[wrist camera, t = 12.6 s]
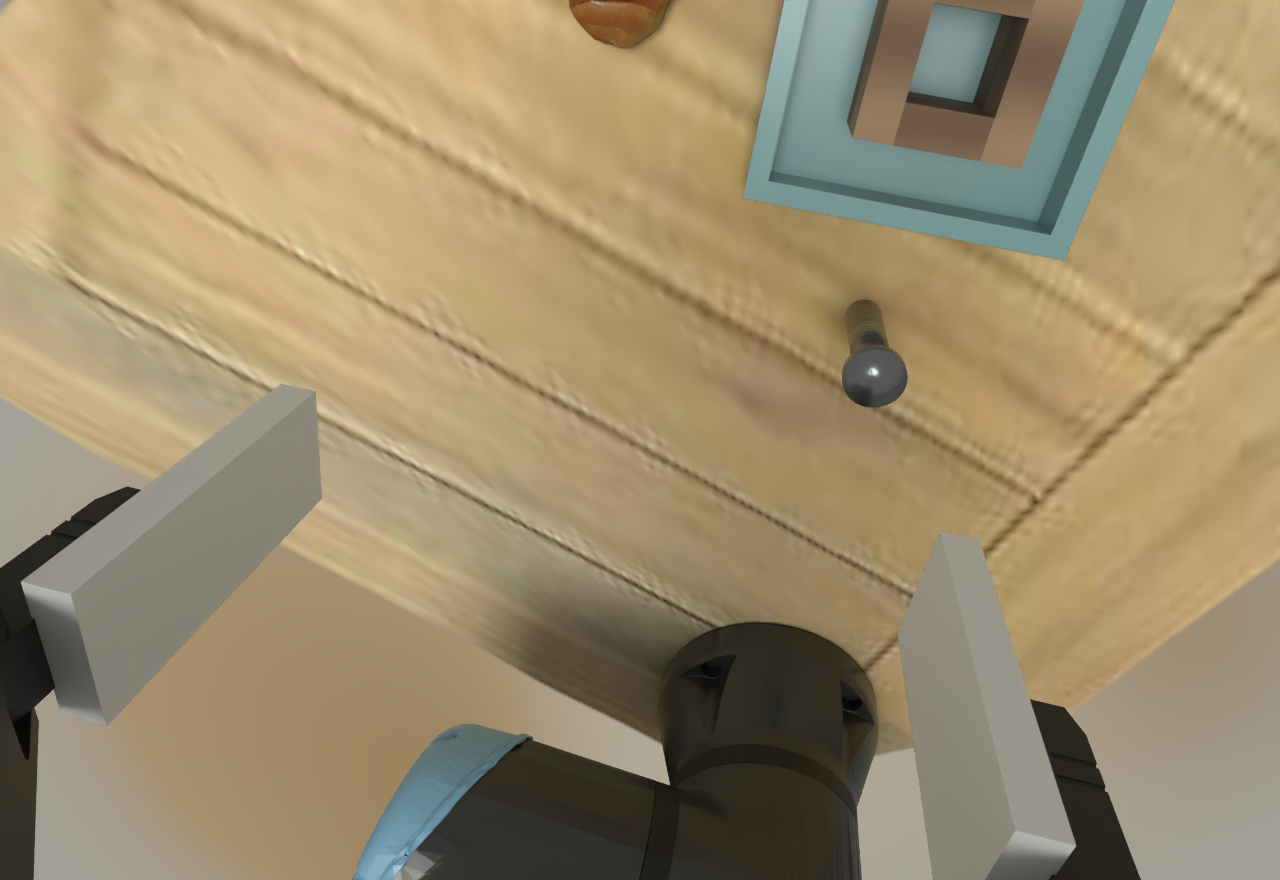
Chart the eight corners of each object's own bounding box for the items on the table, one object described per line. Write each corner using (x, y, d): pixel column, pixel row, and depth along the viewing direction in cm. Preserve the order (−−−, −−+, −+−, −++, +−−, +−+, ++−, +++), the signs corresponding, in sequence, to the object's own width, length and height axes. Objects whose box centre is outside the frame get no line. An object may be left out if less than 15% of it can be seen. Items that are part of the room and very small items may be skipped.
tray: (1047, 242, 40) (1064, 260, 37) (746, 185, 41) (742, 198, 38) (1198, -125, 32) (1232, -134, 30) (824, -183, 34) (825, -197, 31)
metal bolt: (881, 345, 44) (896, 413, 37) (830, 334, 44) (835, 400, 37) (897, 296, 42) (916, 357, 35) (844, 285, 43) (852, 344, 36)
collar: (996, 148, 38) (1021, 169, 33) (846, 120, 38) (852, 138, 34) (1057, -24, 34) (1093, -25, 30) (891, -51, 35) (903, -56, 30)
